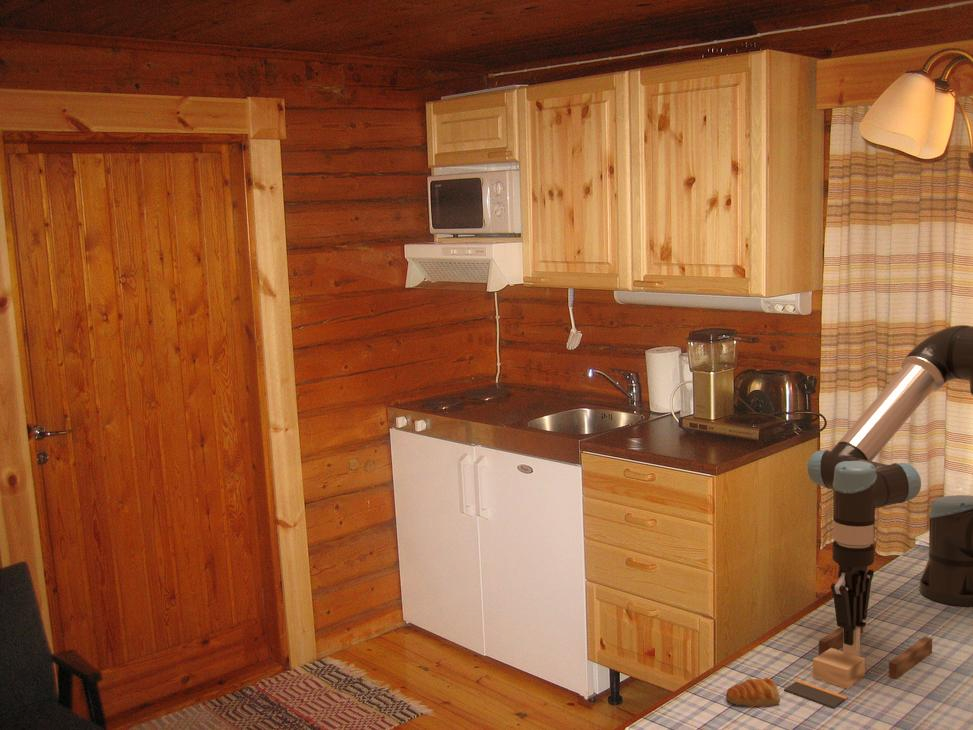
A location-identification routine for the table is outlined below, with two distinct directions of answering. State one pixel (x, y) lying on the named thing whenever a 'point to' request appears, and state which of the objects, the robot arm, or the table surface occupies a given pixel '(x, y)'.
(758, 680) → the pastry
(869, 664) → the table surface
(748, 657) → the table surface
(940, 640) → the table surface
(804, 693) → the pad
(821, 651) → the lane
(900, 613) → the table surface
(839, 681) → the block
